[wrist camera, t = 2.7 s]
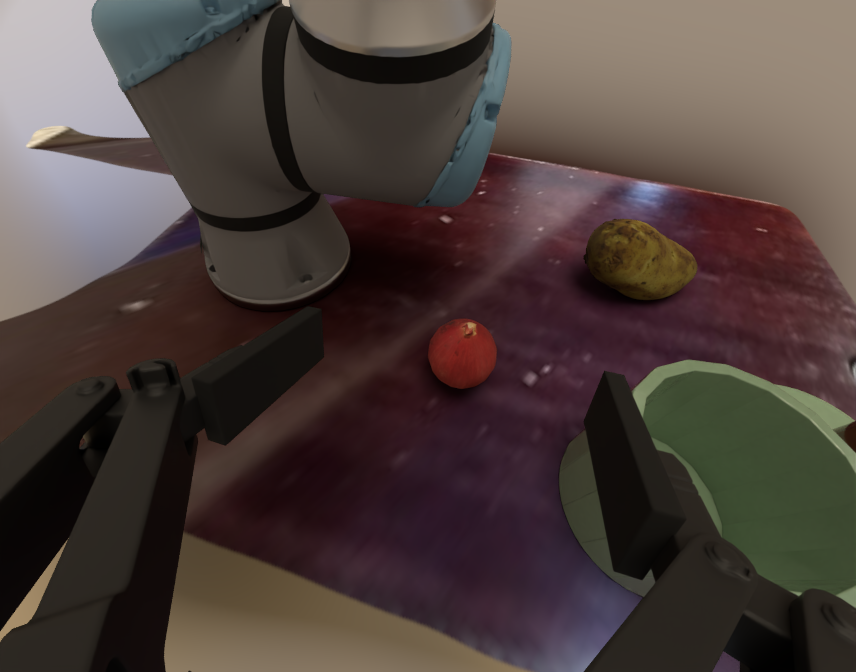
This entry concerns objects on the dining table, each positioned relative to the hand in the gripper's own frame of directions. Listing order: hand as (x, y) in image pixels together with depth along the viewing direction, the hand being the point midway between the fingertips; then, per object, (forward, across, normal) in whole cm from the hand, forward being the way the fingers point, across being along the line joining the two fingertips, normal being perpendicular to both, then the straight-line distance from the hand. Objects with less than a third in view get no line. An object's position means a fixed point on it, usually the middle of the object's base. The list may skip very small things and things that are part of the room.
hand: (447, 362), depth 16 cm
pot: (+8, +15, -14) cm, 22 cm away
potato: (+30, +15, -3) cm, 34 cm away
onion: (+14, -1, -10) cm, 17 cm away
